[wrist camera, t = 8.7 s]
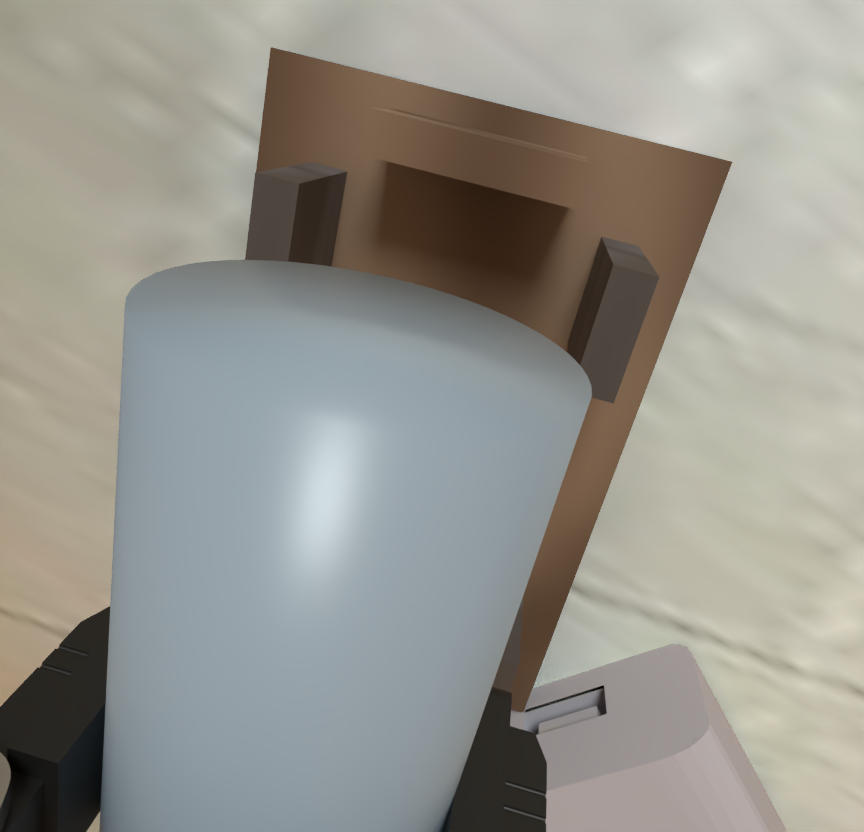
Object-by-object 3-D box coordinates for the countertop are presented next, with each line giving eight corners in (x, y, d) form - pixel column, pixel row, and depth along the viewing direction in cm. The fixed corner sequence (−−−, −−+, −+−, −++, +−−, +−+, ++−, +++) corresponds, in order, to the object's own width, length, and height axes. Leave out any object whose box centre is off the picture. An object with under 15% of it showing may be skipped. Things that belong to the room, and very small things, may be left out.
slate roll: (386, 922, 16) (326, 1252, 11) (169, 860, 16) (22, 1161, 11) (577, 325, 10) (615, 497, 6) (239, 238, 10) (2, 336, 6)
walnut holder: (215, 602, 27) (146, 700, 22) (284, 50, 19) (200, 29, 15) (524, 692, 26) (518, 812, 22) (723, 160, 19) (778, 173, 14)
